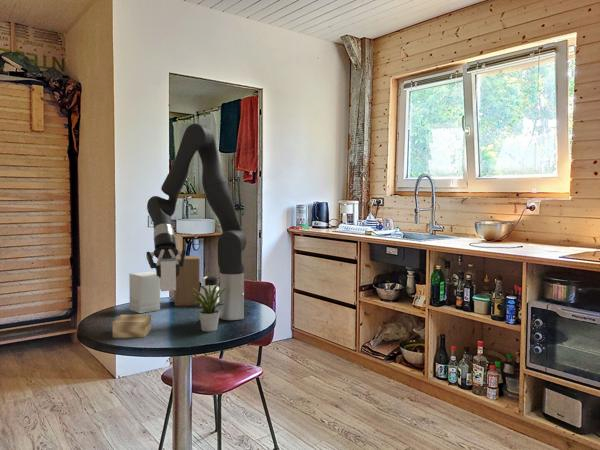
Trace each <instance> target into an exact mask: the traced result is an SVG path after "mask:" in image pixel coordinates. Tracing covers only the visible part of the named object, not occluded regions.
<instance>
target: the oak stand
mask: <svg viewBox="0 0 600 450" xmlns="http://www.w3.org/2000/svg"><path fill="white" fill-rule="evenodd" d="M151 329H152V314H150V313H149V314H147V313H146V314H145V313H144V314H120V315H119V316H118V317H117V318H115V320H113V321H112V338H115V339H117V338H118V339H119V338H146V337H147V335H148V334H149V332H150V331H151Z"/></svg>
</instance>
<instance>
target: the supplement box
mask: <svg viewBox="0 0 600 450" xmlns="http://www.w3.org/2000/svg"><path fill="white" fill-rule="evenodd" d="M128 275H129V276H128V277H129V279H128V280H129V283H128V284H129V311H131V310H132V311H131V312H134V311H135V313H137V312H138V314H145V312H146V313H150V312H151V313H152V312H157V311H161V310H160V309H161V290H160V278H159V276H157V275H156V272H153V271H148V270H147V271H141V272H140V271H139V272H138V271H137V272H130V273H129V274H128Z"/></svg>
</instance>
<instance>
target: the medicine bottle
mask: <svg viewBox="0 0 600 450" xmlns="http://www.w3.org/2000/svg"><path fill="white" fill-rule="evenodd" d="M208 284H209V285H208ZM217 284H218V278H217V277H216V276H211V275H207V276H204V277H202V286H203V287H205V288H206V289H207V291H208V293H209V286H210V290H211V293H212V290H213V288H214V286H215V285H217ZM218 287H219V286H217V288H218ZM217 288H216V290H215V291H216V292H215V293H214V294H215V295H214V298H215V297H216V294H217V292H218V290H219V288H218V289H217ZM200 293H201V294H202V295H203V296H204V297H205V298H206V295H205V291H204V289H202V287H200ZM218 295H219V294H218ZM200 298H201V299H202V297H201V296H200ZM214 298H213V300H214ZM206 300H207V298H206ZM202 301H204V300H203V299H202ZM218 302H219V297H218V299H217V301H216V303H215V304H217V303H218ZM199 306H201V307H202V305H201V304H199ZM215 306H216V305H215ZM215 306H214V307H215Z"/></svg>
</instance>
